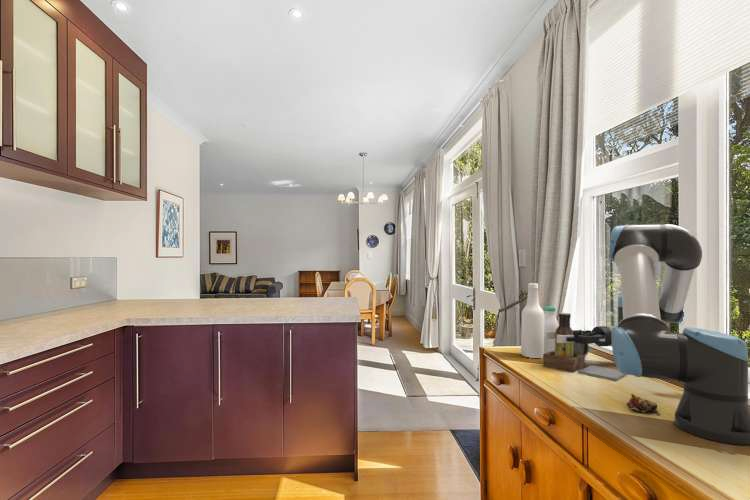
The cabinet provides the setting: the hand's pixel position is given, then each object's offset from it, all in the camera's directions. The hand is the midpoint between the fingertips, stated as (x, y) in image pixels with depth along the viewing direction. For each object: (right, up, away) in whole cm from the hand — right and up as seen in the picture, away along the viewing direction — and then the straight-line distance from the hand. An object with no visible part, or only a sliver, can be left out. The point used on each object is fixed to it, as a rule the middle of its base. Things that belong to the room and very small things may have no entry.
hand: (551, 337), depth 150 cm
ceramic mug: (+18, -12, +20) cm, 29 cm away
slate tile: (+14, -11, -8) cm, 20 cm away
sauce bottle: (+5, -11, +1) cm, 12 cm away
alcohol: (-1, -12, +16) cm, 20 cm away
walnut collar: (+5, -11, +1) cm, 12 cm away
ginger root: (+7, -11, -39) cm, 42 cm away
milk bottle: (+8, -12, +20) cm, 24 cm away
